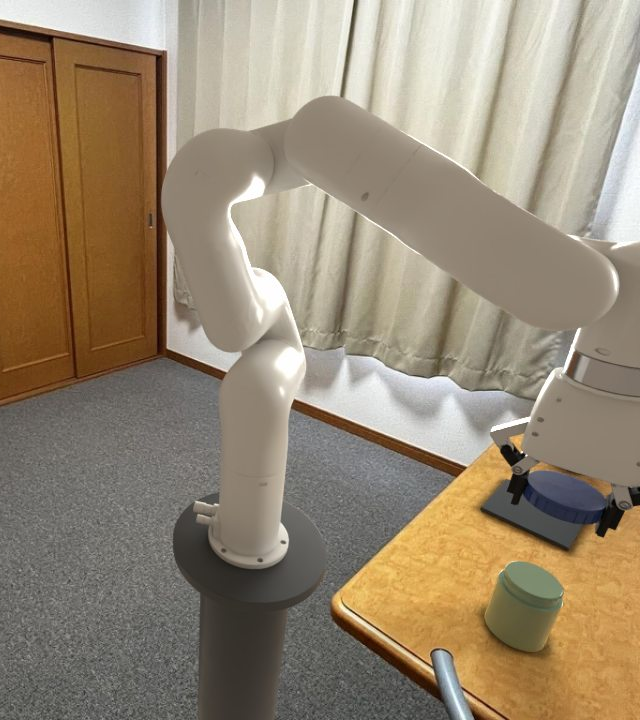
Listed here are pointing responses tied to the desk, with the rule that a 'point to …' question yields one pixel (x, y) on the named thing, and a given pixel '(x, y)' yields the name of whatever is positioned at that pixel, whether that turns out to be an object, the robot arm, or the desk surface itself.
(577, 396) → the robot arm
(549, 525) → the plate
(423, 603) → the desk surface
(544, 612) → the jar
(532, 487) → the lid
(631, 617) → the desk surface
